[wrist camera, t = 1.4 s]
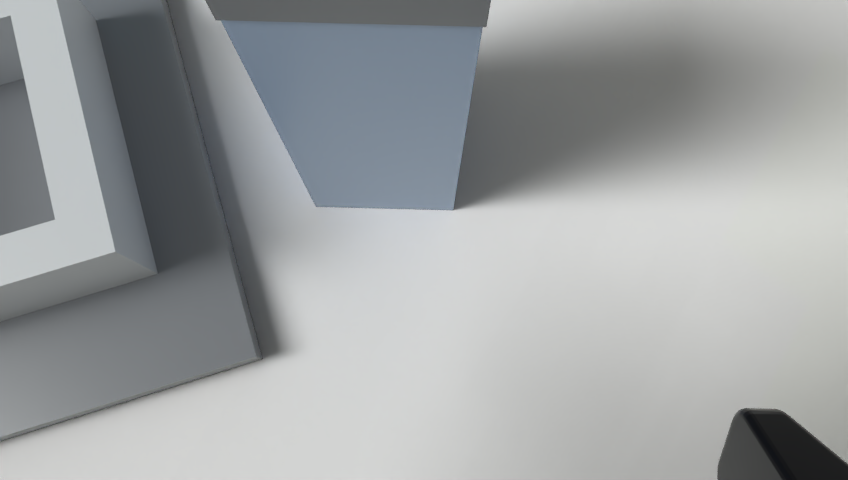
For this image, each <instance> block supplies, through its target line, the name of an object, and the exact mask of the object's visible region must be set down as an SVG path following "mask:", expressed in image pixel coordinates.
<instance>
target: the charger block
mask: <svg viewBox="0 0 848 480" xmlns="http://www.w3.org/2000/svg"><path fill="white" fill-rule="evenodd" d="M205 1H206V3H207V4H208V6H209V8H210V10H211V12H212V14H213V16H214V18H215V20H221V22H222V23H223V25H224V27H225V29H226V31H227V33H228V35H229V37H230V39H231V41H232V43H233V45H234V47H235V49H236V51H237V53H238V55H239V57H240V59H241V61H242V63H243V65H244V67H245V69H246V70H247V72H248V74H249V76H250V78H251V80H252V82H253V84H254V86H255V88H256V90H257V92H258V94H259V96H260V98H261V100H262V102H263V104H264V106H265V108H266V110H267V112H268V114H269V116H270V117H271V119H272V121H273V123H274V125H275V127H276V129H277V131H278V133H279V135H280V137H281V139H282V141H283V143H284V145H285V147H286V149H287V151H288V153H289V155H290V157H291V159H292V161H293V163H294V164H295V166H296V168H297V170H298V172H299V174H300V176H301V178H302V180H303V182H304V184H305V186H306V188H307V190H308V192H309V194H310V196H311V198H312V200H313V202H314V204H315V206H316V207H351V208H390V209H430V210H453V208H454V202H455V196H456V190H457V183H458V177H459V171H460V165H461V158H462V152H463V146H464V139H465V133H466V127H467V121H468V114H469V108H470V102H471V96H472V89H473V83H474V77H475V71H476V64H477V58H478V52H479V46H480V39H481V33H482V27H486V26H487V20H488V14H489V8H490V2H491V0H205Z"/></svg>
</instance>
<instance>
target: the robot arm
mask: <svg viewBox="0 0 848 480" xmlns="http://www.w3.org/2000/svg"><path fill="white" fill-rule="evenodd" d="M717 478H718V480H848V464H847V463H846V462H845V461H843V460H842V459H841V458H840V457H839V456H837V455H836V454H835V453H834V452H833V451H831V450H830V449H829V448H828V447H826V446H825V445H824V444H823V443H822V442H820V441H819V440H818V439H817V438H816V437H814V436H813V435H812V434H811V433H809V432H808V431H807V430H806V429H805V428H803V427H802V426H801V425H800V424H799V423H797V422H796V421H795V420H794V419H792V418H791V417H790V416H789V415H787V414H786V413H784V412H783V411H781V410H777V409H755V408H744V409H741V410H739V411H738V412H737V413H736V414H735V416H734V418H733V420H732V423H731V426H730V429H729V432H728V435H727V438H726V442H725V445H724V448H723V451H722V454H721V457H720V460H719V464H718V476H717Z"/></svg>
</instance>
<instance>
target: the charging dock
mask: <svg viewBox="0 0 848 480" xmlns="http://www.w3.org/2000/svg"><path fill="white" fill-rule="evenodd" d="M260 359H262V355H261V352H260V348H259V344H258V341H257V337H256V333H255V329H254V326H253V322H252V318H251V314H250V311H249V307H248V303H247V300H246V296H245V292H244V288H243V285H242V281H241V277H240V273H239V270H238V266H237V262H236V259H235V255H234V251H233V247H232V244H231V240H230V236H229V232H228V229H227V225H226V221H225V218H224V214H223V210H222V206H221V203H220V199H219V195H218V191H217V188H216V184H215V180H214V177H213V173H212V169H211V165H210V162H209V158H208V154H207V150H206V147H205V143H204V139H203V135H202V132H201V128H200V124H199V121H198V117H197V113H196V109H195V106H194V102H193V98H192V94H191V91H190V87H189V83H188V80H187V76H186V72H185V68H184V65H183V61H182V57H181V53H180V50H179V46H178V42H177V39H176V35H175V31H174V27H173V24H172V20H171V16H170V12H169V9H168V5H167V1H166V0H0V441H2V440H5V439H8V438H12V437H15V436H18V435H21V434H24V433H28V432H31V431H34V430H37V429H40V428H43V427H47V426H50V425H53V424H56V423H59V422H63V421H66V420H69V419H72V418H75V417H78V416H82V415H85V414H88V413H91V412H94V411H98V410H101V409H104V408H107V407H110V406H113V405H117V404H120V403H123V402H126V401H129V400H133V399H136V398H139V397H142V396H145V395H148V394H152V393H155V392H158V391H161V390H164V389H167V388H171V387H174V386H177V385H180V384H183V383H187V382H190V381H193V380H196V379H199V378H202V377H206V376H209V375H212V374H215V373H218V372H222V371H225V370H228V369H231V368H234V367H237V366H241V365H244V364H247V363H250V362H253V361H257V360H260Z"/></svg>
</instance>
